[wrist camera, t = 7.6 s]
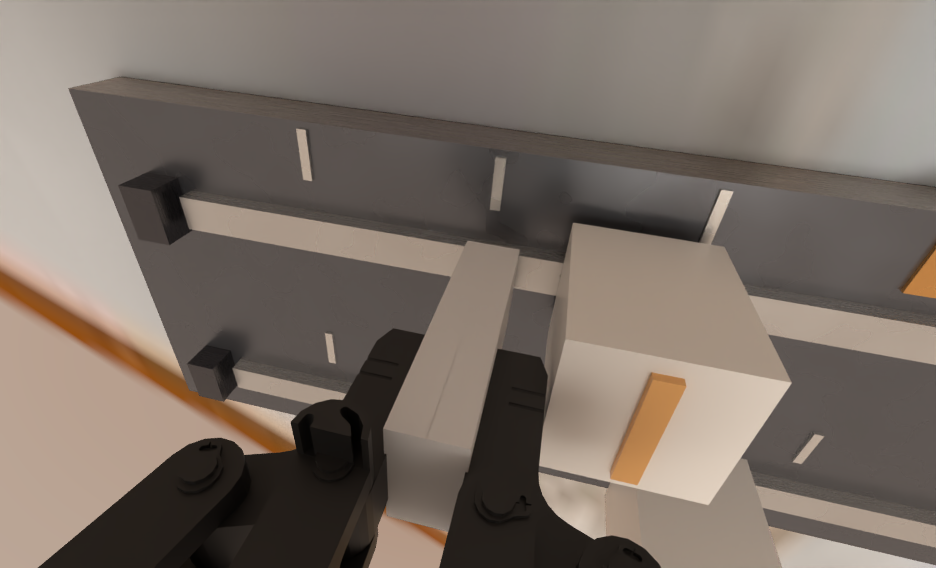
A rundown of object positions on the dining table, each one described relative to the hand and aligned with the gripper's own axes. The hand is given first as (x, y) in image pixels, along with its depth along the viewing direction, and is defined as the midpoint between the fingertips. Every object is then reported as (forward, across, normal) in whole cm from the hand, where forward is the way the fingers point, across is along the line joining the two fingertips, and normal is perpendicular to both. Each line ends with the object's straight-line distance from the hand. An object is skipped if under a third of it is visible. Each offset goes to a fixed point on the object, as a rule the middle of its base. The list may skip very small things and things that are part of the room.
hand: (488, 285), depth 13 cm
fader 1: (+1, +4, 0) cm, 4 cm away
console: (+4, +4, -4) cm, 6 cm away
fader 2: (+1, +8, -8) cm, 11 cm away
